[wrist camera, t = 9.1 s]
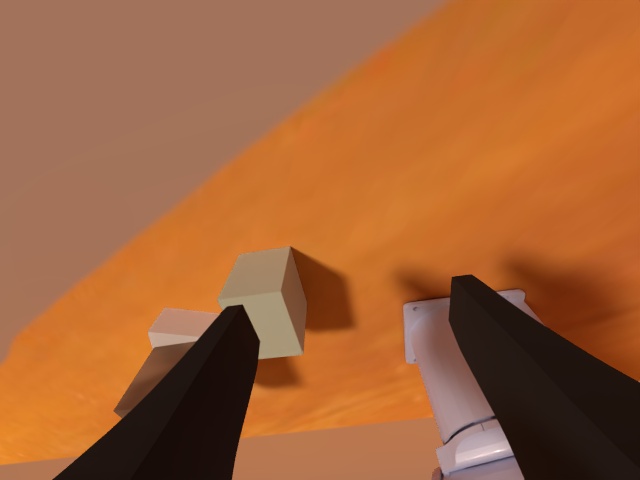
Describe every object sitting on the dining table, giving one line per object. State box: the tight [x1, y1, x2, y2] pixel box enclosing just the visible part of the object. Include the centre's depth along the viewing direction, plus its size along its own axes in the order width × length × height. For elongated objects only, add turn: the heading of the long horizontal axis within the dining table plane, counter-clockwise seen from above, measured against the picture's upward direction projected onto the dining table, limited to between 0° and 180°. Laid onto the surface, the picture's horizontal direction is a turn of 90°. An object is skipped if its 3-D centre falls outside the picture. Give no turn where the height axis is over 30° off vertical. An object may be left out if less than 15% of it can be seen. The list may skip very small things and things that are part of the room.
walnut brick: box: [114, 341, 196, 418], centre depth 21 cm, size 4×6×5 cm, turn 13°
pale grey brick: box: [148, 308, 220, 349], centre depth 25 cm, size 6×8×3 cm
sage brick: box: [217, 246, 307, 359], centre depth 20 cm, size 4×6×5 cm, turn 11°
